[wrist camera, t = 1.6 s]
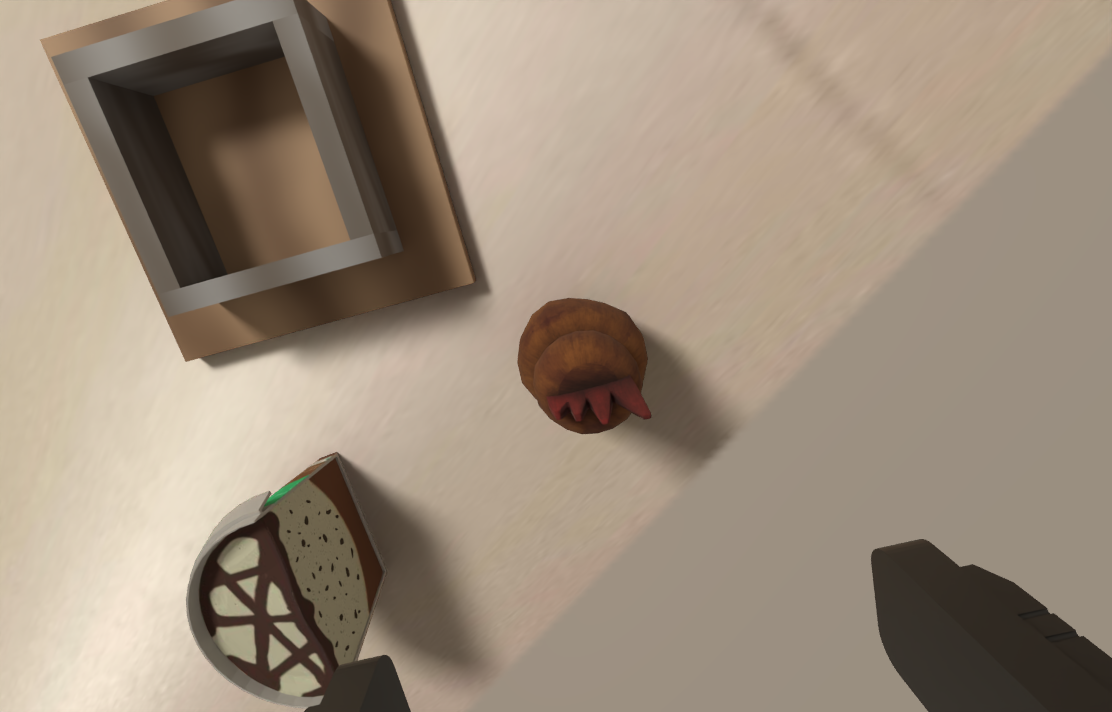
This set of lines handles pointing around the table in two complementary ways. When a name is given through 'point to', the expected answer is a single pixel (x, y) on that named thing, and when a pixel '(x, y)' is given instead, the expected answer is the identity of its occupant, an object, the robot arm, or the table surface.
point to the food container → (287, 587)
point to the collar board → (264, 162)
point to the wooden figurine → (584, 364)
